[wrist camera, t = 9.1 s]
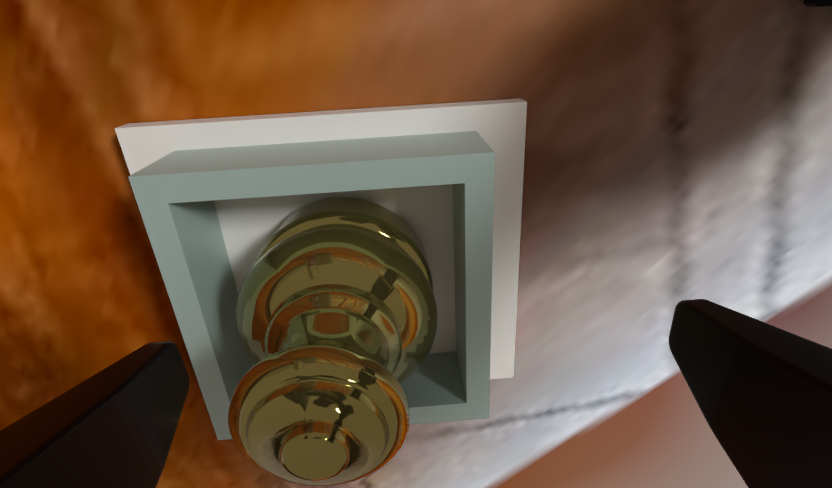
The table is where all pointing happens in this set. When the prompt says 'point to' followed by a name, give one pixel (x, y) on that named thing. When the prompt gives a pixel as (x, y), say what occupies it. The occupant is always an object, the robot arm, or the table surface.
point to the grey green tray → (342, 178)
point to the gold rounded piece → (331, 343)
